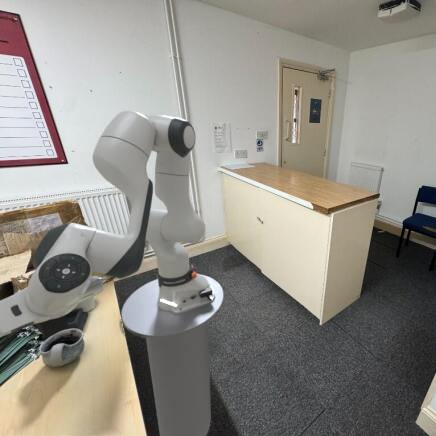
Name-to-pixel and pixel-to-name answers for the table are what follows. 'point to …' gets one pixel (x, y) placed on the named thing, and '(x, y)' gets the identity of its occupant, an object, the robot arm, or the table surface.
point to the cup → (86, 304)
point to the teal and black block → (52, 326)
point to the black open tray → (75, 320)
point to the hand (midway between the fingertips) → (47, 313)
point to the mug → (62, 347)
